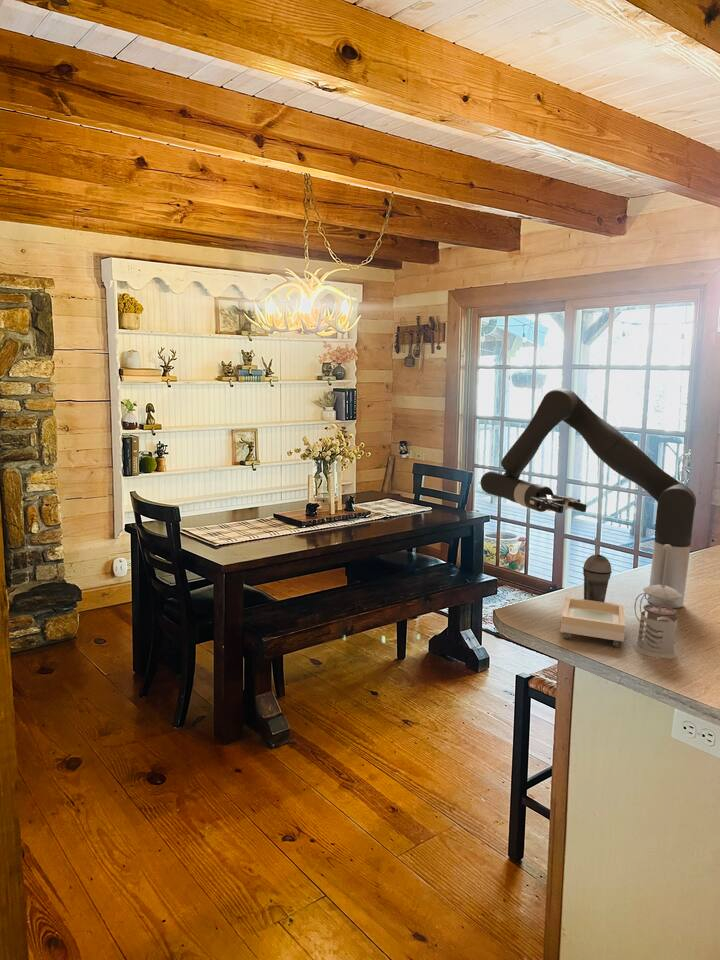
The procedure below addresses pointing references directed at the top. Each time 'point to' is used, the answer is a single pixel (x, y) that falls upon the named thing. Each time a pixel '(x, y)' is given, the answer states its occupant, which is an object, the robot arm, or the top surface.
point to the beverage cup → (596, 576)
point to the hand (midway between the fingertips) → (574, 509)
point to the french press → (658, 622)
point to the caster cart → (593, 619)
